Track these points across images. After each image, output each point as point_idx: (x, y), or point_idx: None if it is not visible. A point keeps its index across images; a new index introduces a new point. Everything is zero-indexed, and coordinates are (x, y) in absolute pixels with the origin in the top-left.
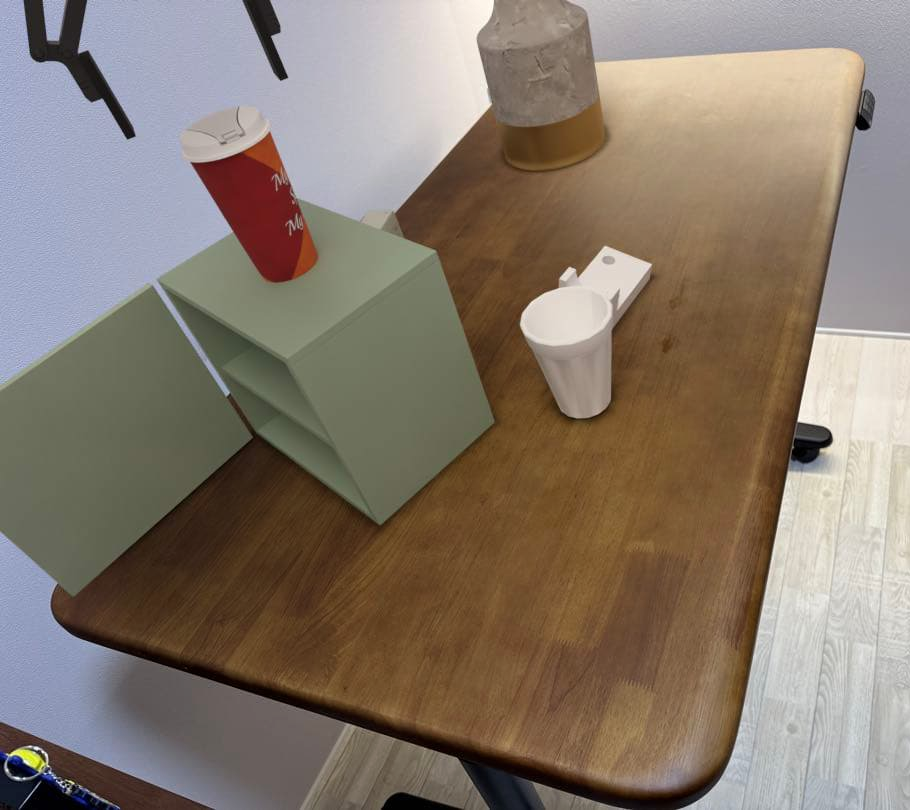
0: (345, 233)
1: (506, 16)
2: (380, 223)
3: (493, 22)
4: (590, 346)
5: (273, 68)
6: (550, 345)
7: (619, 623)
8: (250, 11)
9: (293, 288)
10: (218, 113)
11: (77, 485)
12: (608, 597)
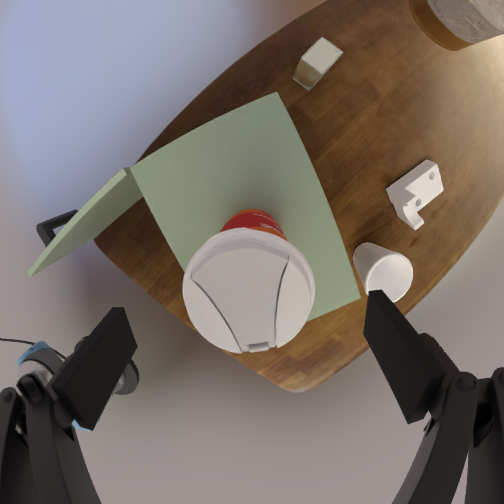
0: (311, 216)
1: None
2: (328, 62)
3: None
4: None
5: (370, 322)
6: None
7: (311, 357)
8: (402, 409)
9: None
10: (250, 259)
11: (92, 230)
12: (313, 348)
